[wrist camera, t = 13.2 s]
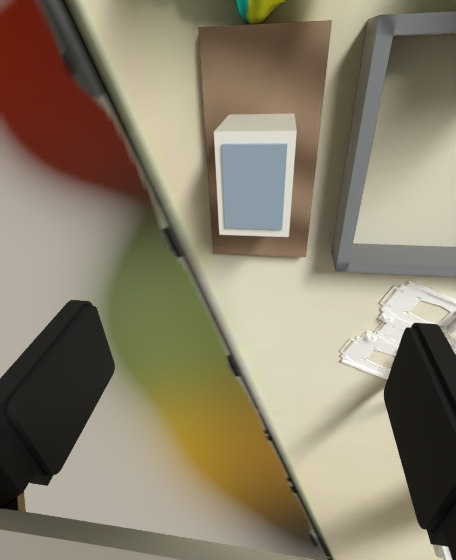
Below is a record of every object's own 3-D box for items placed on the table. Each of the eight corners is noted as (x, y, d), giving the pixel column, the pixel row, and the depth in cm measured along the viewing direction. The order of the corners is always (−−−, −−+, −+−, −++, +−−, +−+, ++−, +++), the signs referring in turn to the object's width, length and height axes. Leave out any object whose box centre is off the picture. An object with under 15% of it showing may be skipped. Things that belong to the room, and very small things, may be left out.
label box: (294, 113, 26) (296, 132, 20) (288, 202, 29) (288, 238, 24) (229, 114, 26) (212, 132, 20) (231, 200, 30) (218, 236, 24)
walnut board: (305, 250, 33) (305, 257, 32) (215, 247, 34) (213, 253, 33) (329, 21, 23) (331, 20, 22) (201, 28, 24) (198, 27, 23)
